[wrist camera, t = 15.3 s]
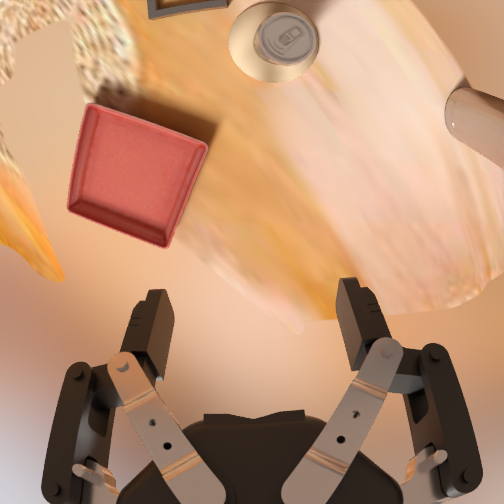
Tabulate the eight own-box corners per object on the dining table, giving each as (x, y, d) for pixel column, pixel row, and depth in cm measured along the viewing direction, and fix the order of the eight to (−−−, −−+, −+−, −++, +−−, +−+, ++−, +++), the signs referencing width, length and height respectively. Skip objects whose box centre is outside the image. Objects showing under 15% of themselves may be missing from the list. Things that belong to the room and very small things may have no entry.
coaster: (314, 4, 27) (315, 3, 27) (318, 81, 34) (320, 82, 34) (225, 6, 28) (224, 5, 27) (232, 85, 34) (232, 85, 34)
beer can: (277, 16, 28) (291, -1, 19) (305, 47, 31) (331, 44, 21) (243, 41, 30) (242, 34, 21) (272, 72, 33) (283, 78, 23)
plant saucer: (74, 202, 44) (65, 212, 41) (96, 97, 34) (85, 101, 32) (172, 239, 49) (167, 251, 46) (213, 137, 39) (210, 144, 36)
